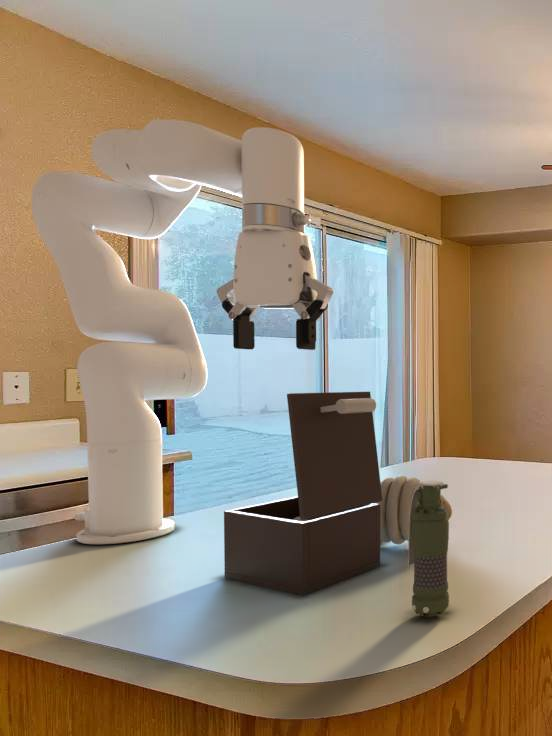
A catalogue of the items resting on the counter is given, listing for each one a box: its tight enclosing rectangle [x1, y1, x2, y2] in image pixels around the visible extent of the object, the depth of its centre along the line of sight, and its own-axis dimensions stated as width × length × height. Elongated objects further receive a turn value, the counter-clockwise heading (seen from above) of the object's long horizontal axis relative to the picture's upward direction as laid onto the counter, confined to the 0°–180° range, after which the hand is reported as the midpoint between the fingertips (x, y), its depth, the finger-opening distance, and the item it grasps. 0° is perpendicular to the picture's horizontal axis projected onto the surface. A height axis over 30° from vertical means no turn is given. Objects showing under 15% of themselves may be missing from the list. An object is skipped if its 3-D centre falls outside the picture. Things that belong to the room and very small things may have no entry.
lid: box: [286, 391, 382, 520], centre depth 76 cm, size 15×13×5 cm
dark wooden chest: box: [223, 495, 381, 596], centre depth 80 cm, size 15×13×9 cm
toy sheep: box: [375, 475, 453, 545], centre depth 93 cm, size 11×17×11 cm, turn 98°
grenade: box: [408, 480, 450, 618], centre depth 66 cm, size 4×4×15 cm
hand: (274, 349), depth 82 cm, fingers open, 9 cm apart
